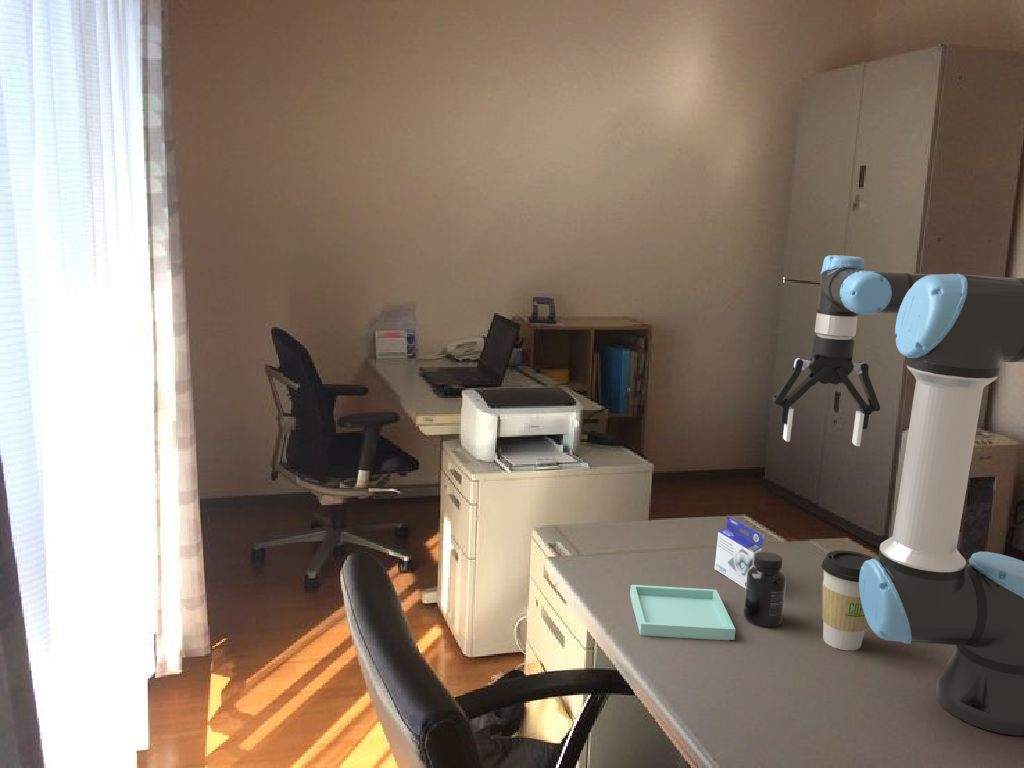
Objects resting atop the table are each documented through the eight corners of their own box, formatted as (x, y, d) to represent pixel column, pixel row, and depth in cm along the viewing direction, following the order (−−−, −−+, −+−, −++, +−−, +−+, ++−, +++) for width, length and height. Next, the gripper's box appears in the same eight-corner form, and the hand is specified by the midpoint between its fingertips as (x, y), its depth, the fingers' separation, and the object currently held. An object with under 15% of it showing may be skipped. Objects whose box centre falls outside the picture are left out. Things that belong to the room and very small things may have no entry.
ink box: (712, 569, 185) (718, 515, 183) (722, 568, 186) (727, 514, 184) (749, 593, 175) (756, 536, 172) (759, 591, 176) (765, 535, 173)
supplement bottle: (777, 612, 167) (785, 551, 164) (785, 629, 160) (793, 565, 158) (739, 609, 167) (746, 547, 165) (745, 626, 161) (752, 562, 158)
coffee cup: (877, 659, 151) (889, 575, 148) (815, 650, 153) (826, 567, 150) (867, 632, 161) (878, 553, 158) (809, 625, 162) (819, 545, 159)
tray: (734, 640, 155) (735, 629, 155) (640, 635, 155) (641, 623, 155) (715, 600, 171) (716, 589, 170) (629, 595, 171) (630, 584, 170)
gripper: (893, 337, 179) (878, 441, 183) (765, 329, 180) (753, 433, 185) (907, 343, 172) (891, 451, 176) (773, 334, 173) (761, 442, 177)
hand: (821, 442), depth 180 cm, fingers open, 13 cm apart
